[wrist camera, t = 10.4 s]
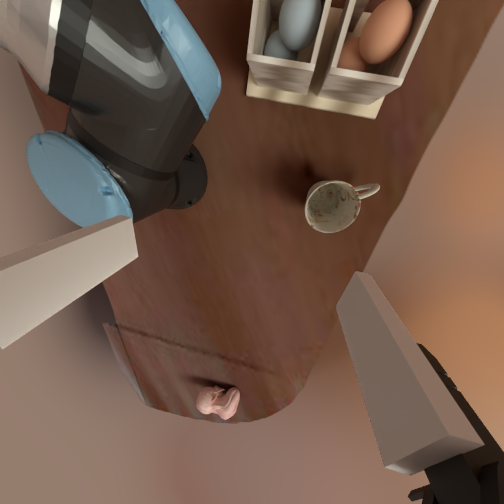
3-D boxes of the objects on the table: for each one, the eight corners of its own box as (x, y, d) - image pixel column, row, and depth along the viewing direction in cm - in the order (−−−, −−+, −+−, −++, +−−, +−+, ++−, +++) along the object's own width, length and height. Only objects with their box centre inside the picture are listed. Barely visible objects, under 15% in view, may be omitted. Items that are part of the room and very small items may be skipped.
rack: (247, 96, 32) (230, 72, 23) (259, 0, 27) (242, -82, 17) (373, 119, 31) (410, 104, 21) (413, 23, 25) (486, -54, 16)
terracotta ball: (349, 56, 22) (401, 18, 18) (354, 12, 22) (409, -36, 18) (366, 82, 25) (414, 55, 21) (371, 44, 25) (420, 9, 21)
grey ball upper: (269, 51, 24) (284, 13, 19) (277, 5, 23) (296, -46, 19) (301, 67, 26) (324, 36, 21) (311, 25, 25) (336, -18, 20)
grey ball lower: (265, 81, 31) (256, 71, 26) (271, 37, 28) (263, 19, 24) (294, 85, 30) (290, 76, 26) (304, 40, 27) (301, 22, 23)
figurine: (241, 379, 82) (199, 378, 79) (242, 411, 72) (195, 412, 69) (236, 390, 87) (198, 390, 84) (237, 422, 78) (193, 423, 74)
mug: (295, 184, 38) (298, 194, 29) (363, 156, 33) (389, 157, 25) (307, 221, 41) (312, 239, 32) (370, 199, 36) (395, 213, 28)
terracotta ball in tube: (326, 89, 30) (325, 80, 26) (338, 45, 27) (340, 27, 23) (358, 93, 29) (363, 84, 25) (374, 48, 26) (383, 29, 22)
